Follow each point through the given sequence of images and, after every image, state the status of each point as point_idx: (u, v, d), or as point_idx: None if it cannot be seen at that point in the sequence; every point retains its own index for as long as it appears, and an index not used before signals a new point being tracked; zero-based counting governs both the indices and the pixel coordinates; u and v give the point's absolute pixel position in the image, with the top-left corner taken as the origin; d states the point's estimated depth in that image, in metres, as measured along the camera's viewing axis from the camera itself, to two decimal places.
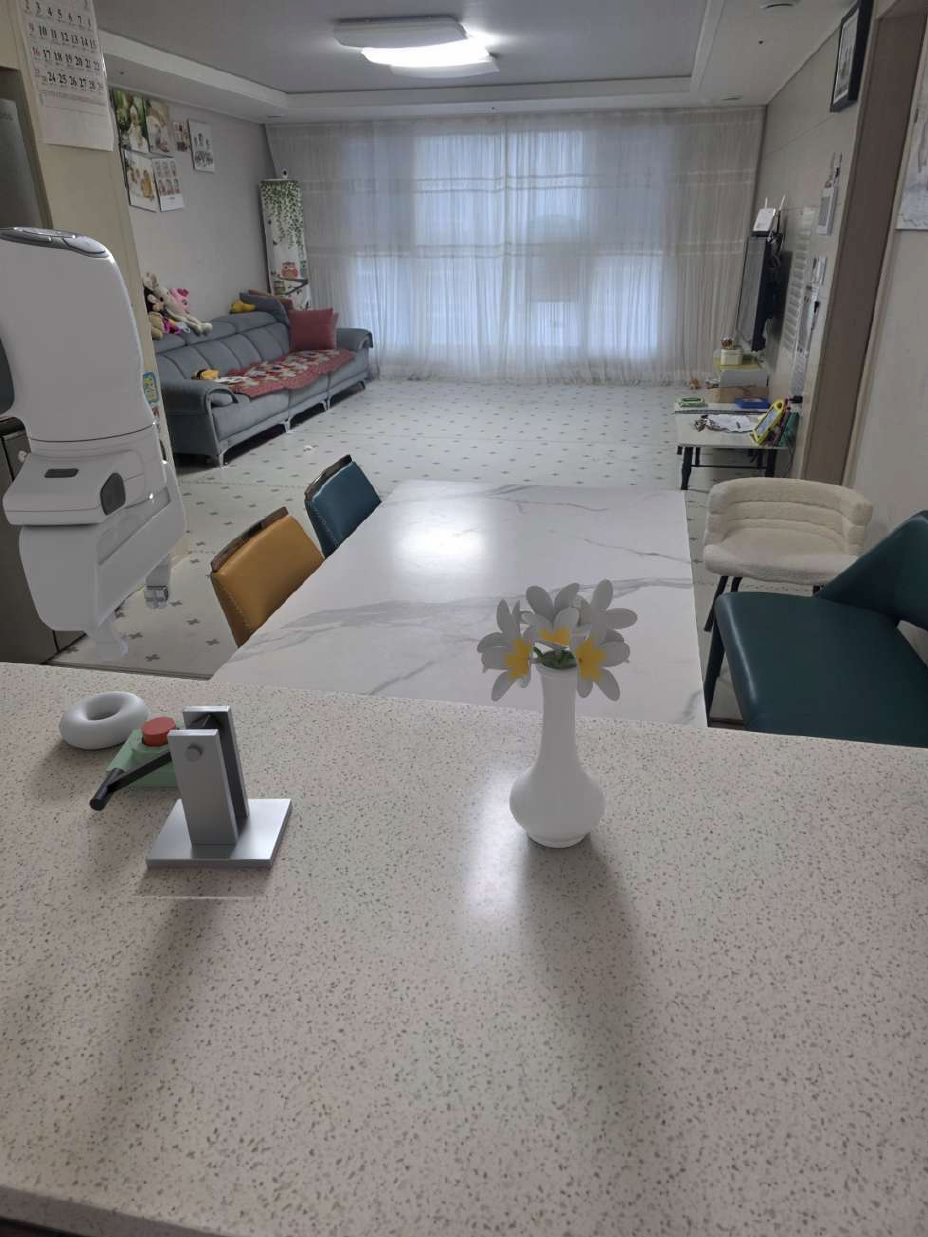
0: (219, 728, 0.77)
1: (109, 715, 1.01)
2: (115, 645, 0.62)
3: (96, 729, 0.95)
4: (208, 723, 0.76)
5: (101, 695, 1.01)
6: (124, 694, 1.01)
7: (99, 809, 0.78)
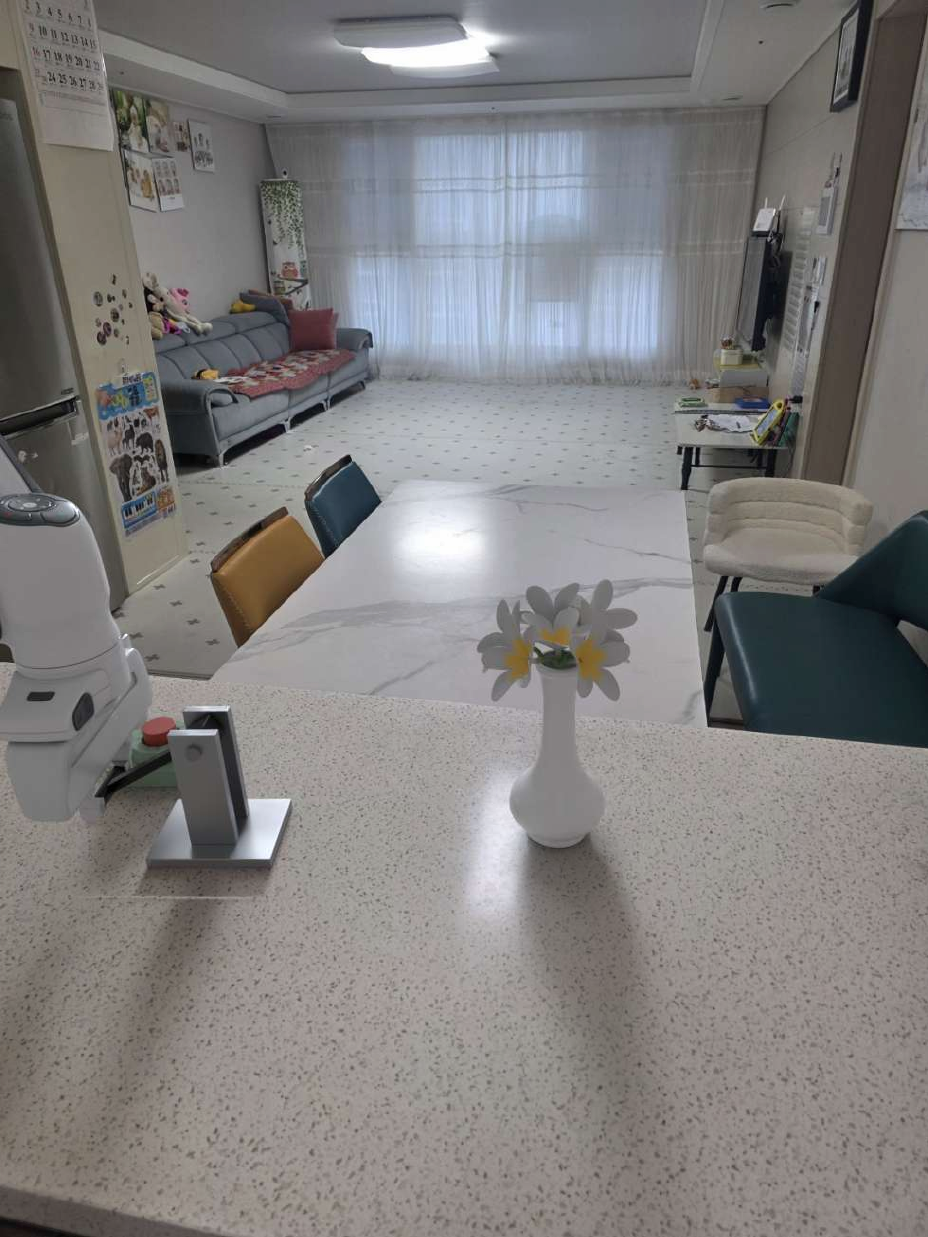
0: (219, 728, 0.77)
1: None
2: (95, 810, 0.76)
3: None
4: (208, 723, 0.76)
5: None
6: None
7: None
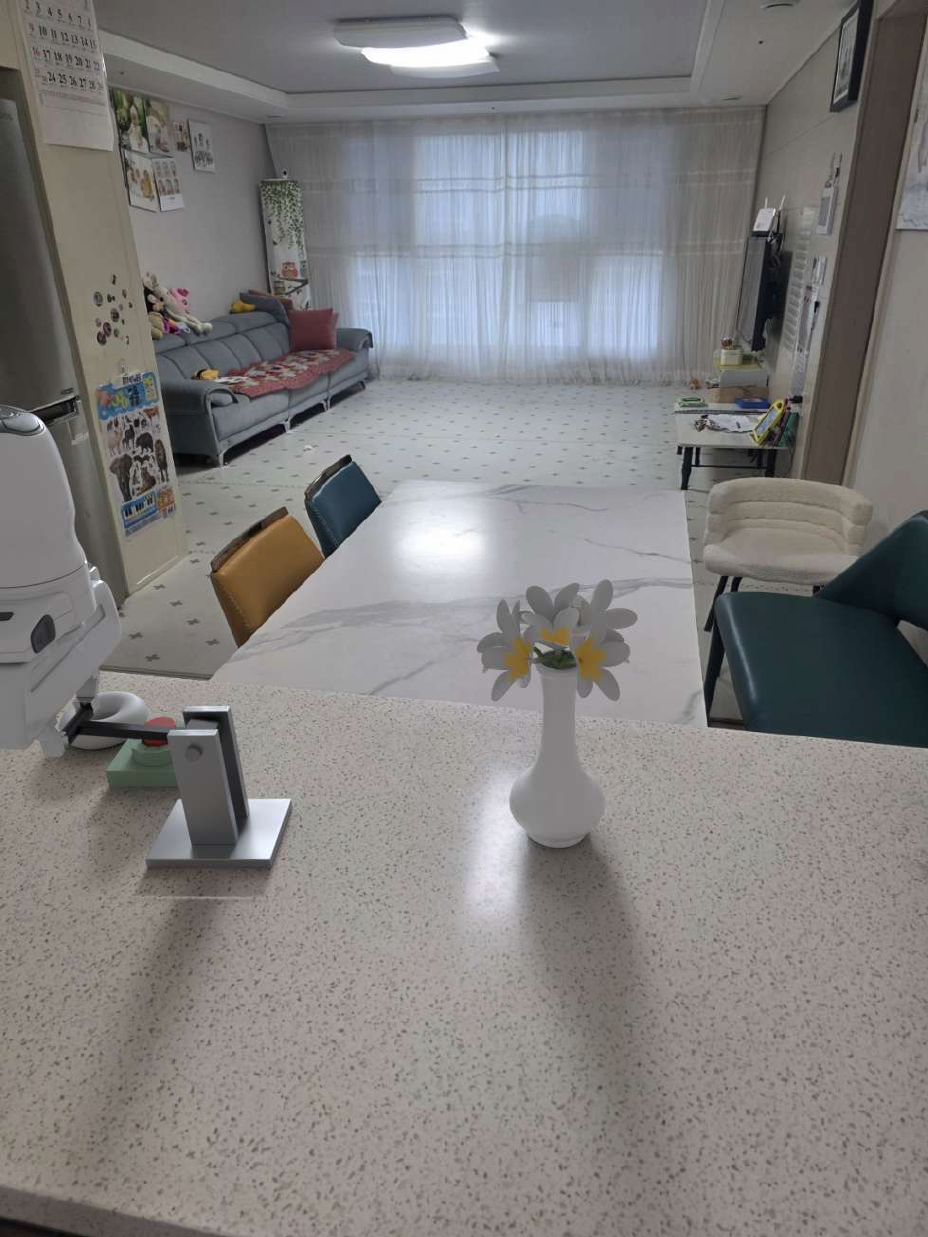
0: (220, 736, 0.78)
1: (109, 715, 1.01)
2: (56, 744, 0.73)
3: None
4: (217, 729, 0.76)
5: (101, 696, 1.01)
6: (124, 694, 1.01)
7: None
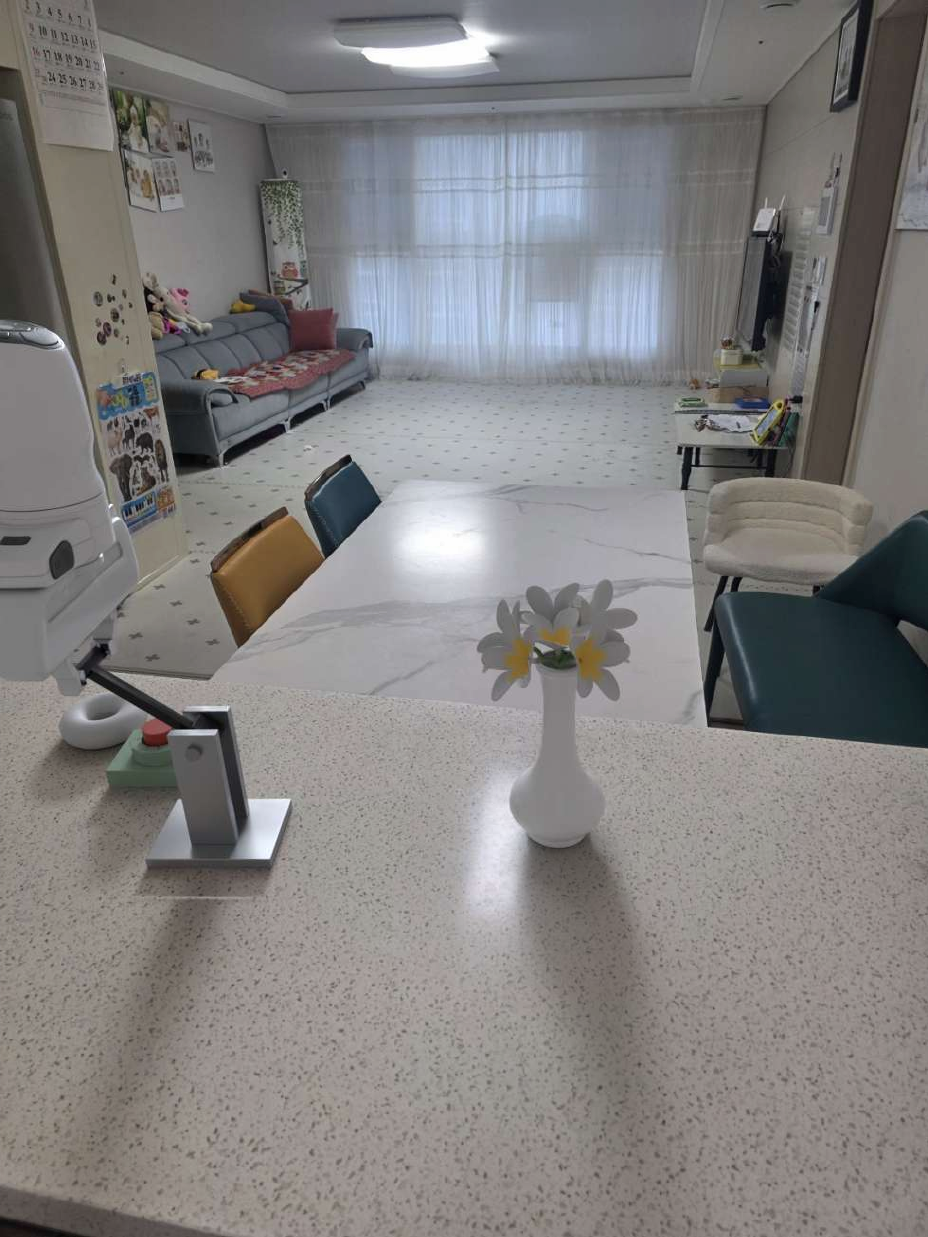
0: None
1: (109, 715, 1.01)
2: (74, 682, 0.70)
3: (96, 729, 0.95)
4: (220, 738, 0.77)
5: (101, 695, 1.01)
6: None
7: None
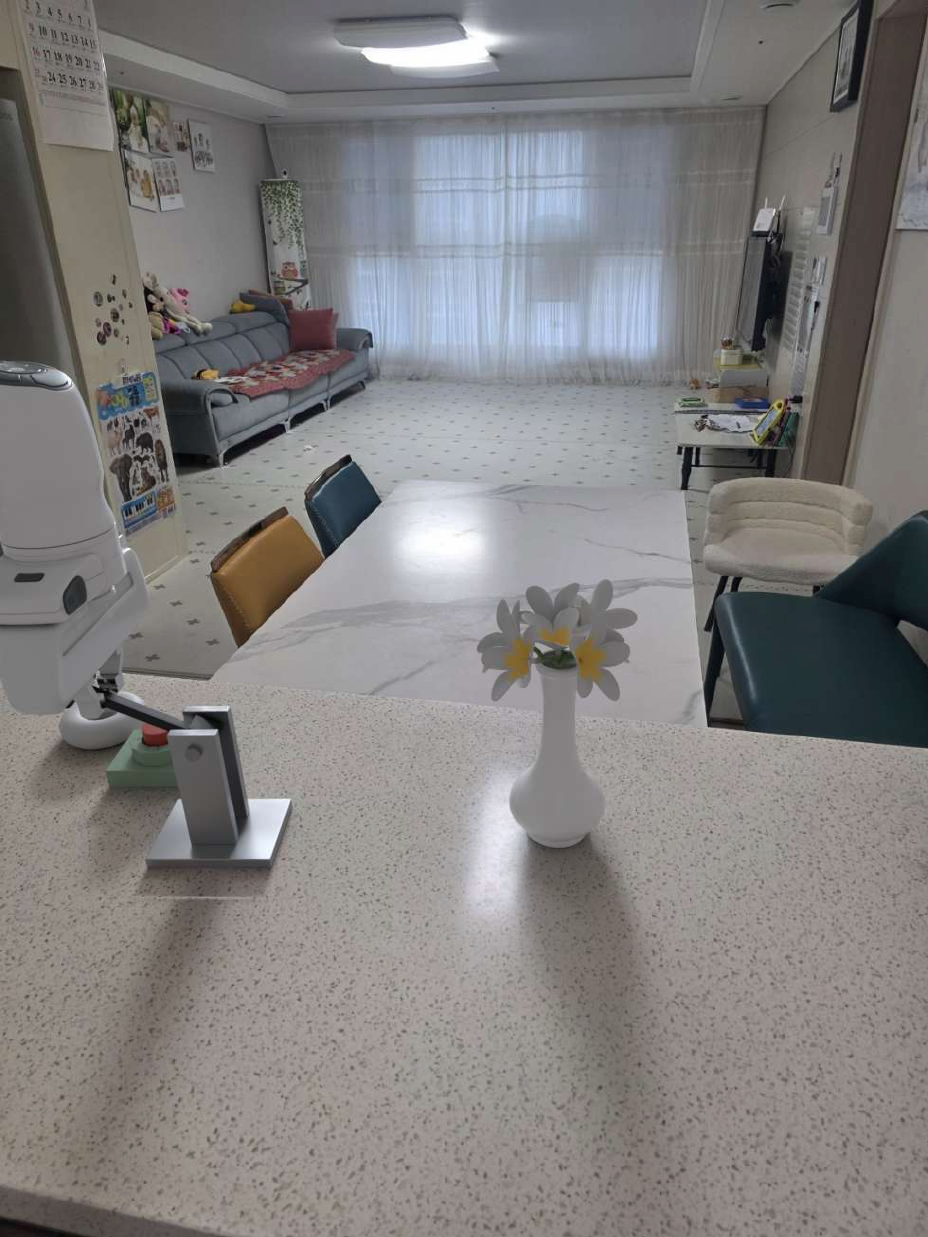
0: None
1: (109, 715, 1.01)
2: (94, 705, 0.72)
3: (96, 729, 0.95)
4: (219, 735, 0.77)
5: None
6: (124, 694, 1.01)
7: None
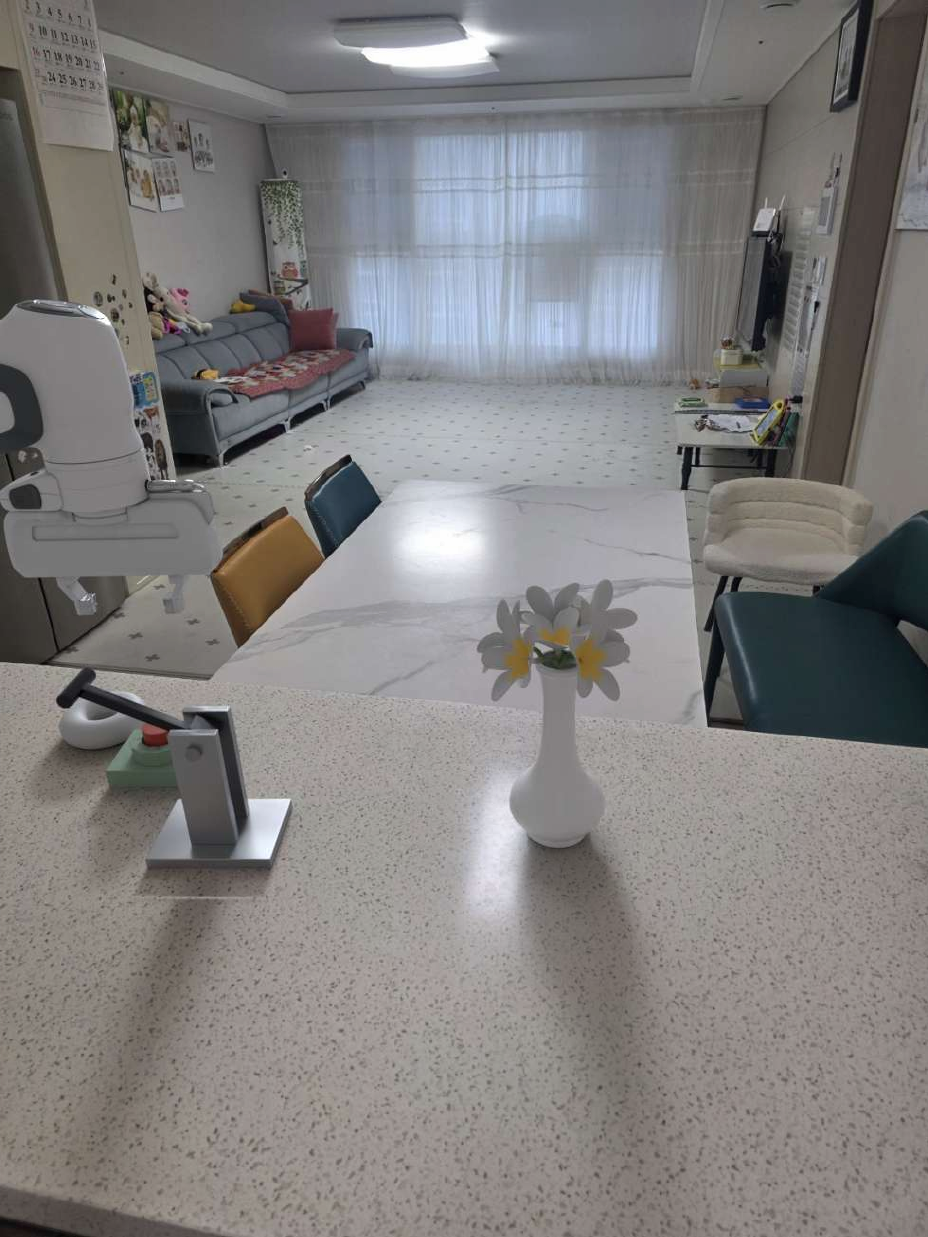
0: None
1: (109, 715, 1.01)
2: None
3: (96, 729, 0.95)
4: (219, 735, 0.77)
5: None
6: (124, 694, 1.01)
7: (61, 706, 0.73)
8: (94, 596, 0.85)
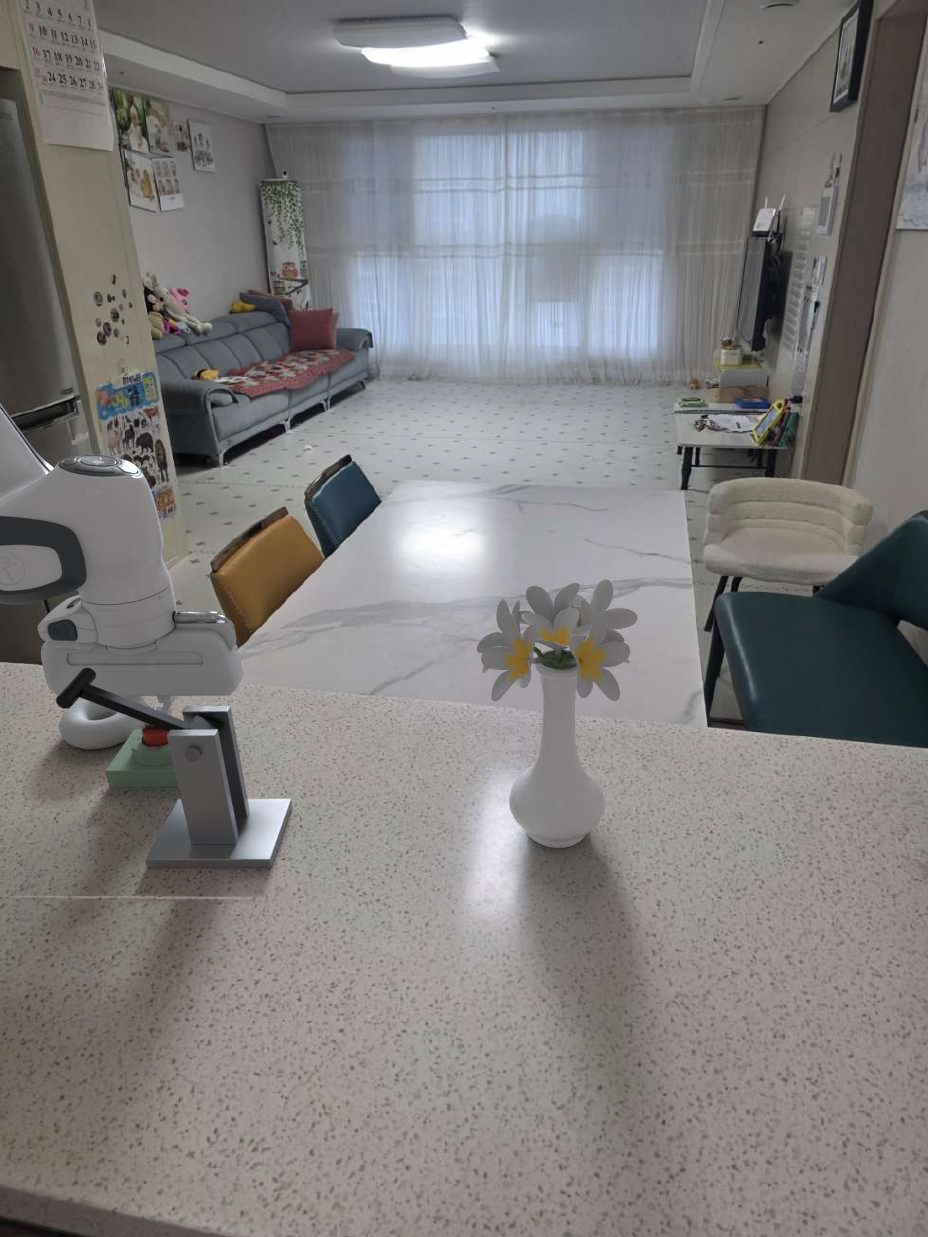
0: None
1: (109, 715, 1.01)
2: None
3: (96, 729, 0.95)
4: (219, 735, 0.77)
5: None
6: None
7: (61, 706, 0.73)
8: None
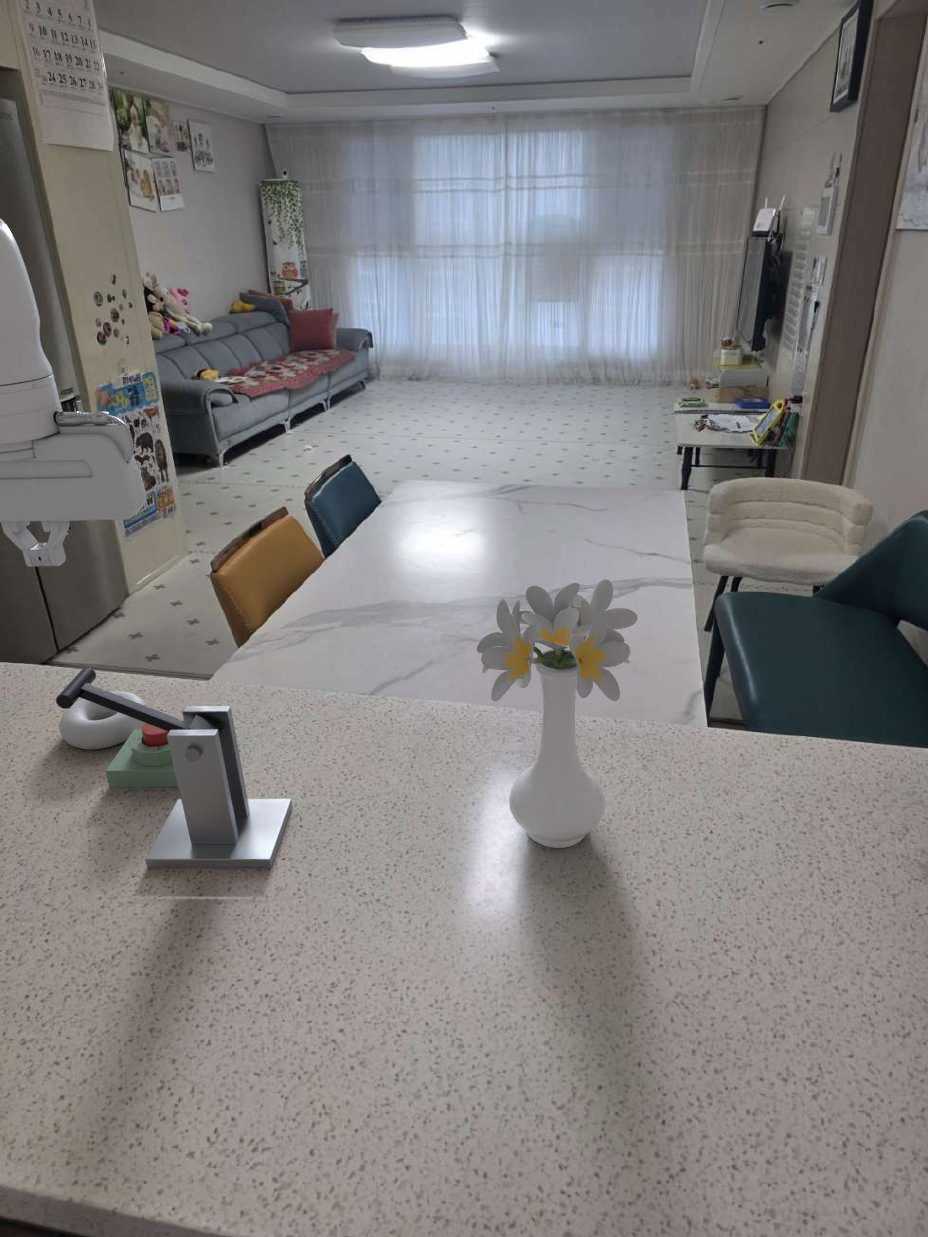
0: None
1: (109, 715, 1.01)
2: None
3: (96, 729, 0.95)
4: (219, 735, 0.77)
5: None
6: (124, 694, 1.01)
7: (61, 706, 0.73)
8: (46, 545, 0.76)
